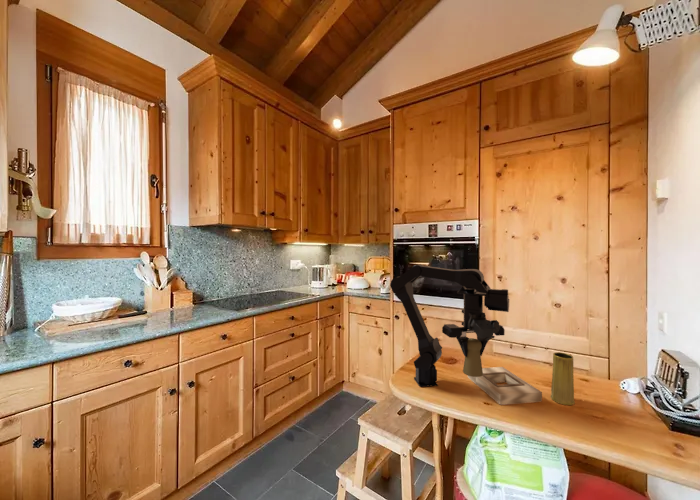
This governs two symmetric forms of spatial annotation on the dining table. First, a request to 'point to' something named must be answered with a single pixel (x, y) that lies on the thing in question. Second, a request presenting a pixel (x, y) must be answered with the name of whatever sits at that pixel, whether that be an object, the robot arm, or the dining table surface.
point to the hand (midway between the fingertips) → (472, 355)
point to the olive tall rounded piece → (473, 358)
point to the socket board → (506, 387)
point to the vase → (562, 379)
